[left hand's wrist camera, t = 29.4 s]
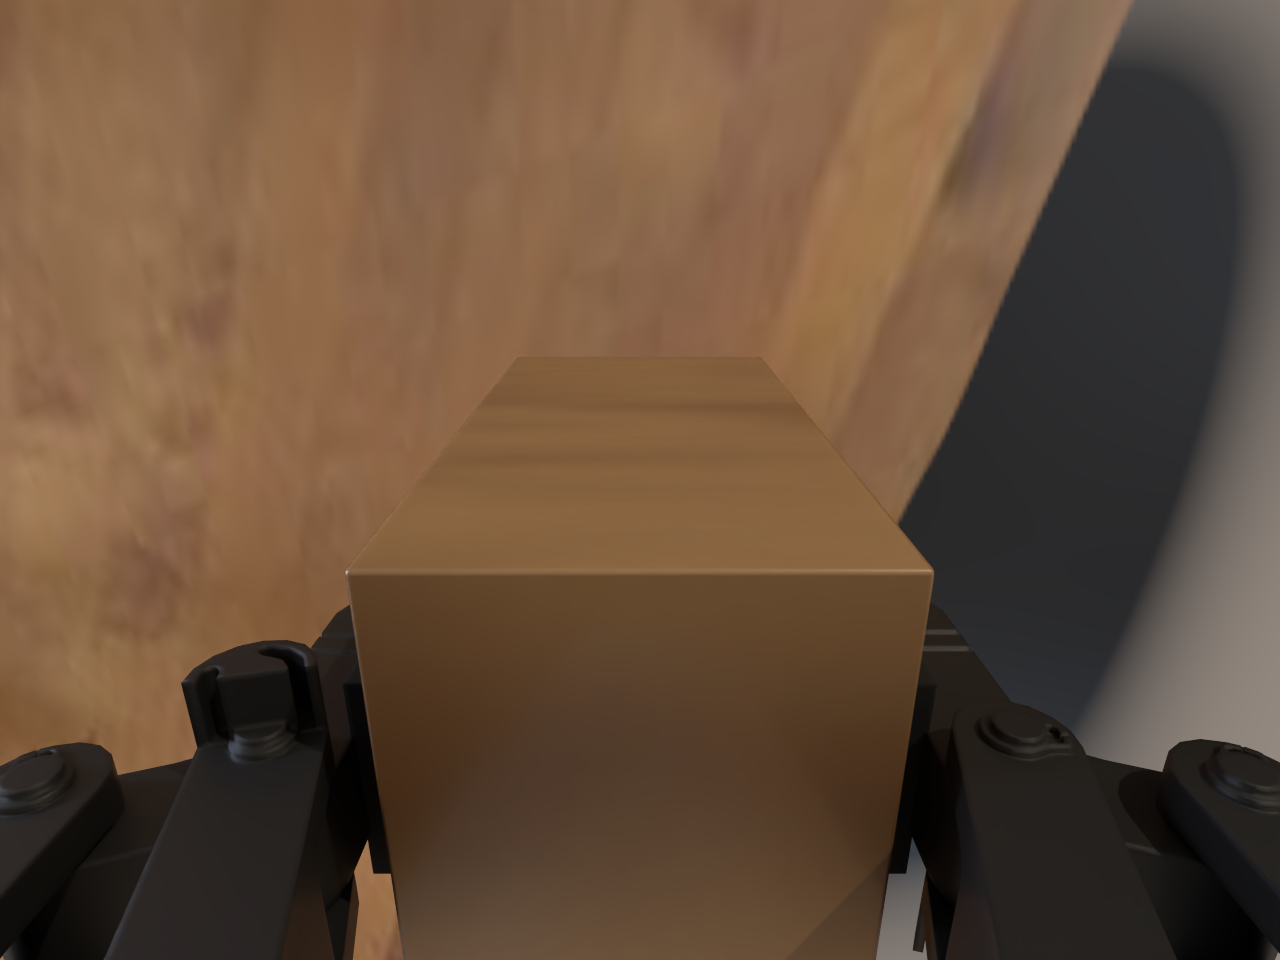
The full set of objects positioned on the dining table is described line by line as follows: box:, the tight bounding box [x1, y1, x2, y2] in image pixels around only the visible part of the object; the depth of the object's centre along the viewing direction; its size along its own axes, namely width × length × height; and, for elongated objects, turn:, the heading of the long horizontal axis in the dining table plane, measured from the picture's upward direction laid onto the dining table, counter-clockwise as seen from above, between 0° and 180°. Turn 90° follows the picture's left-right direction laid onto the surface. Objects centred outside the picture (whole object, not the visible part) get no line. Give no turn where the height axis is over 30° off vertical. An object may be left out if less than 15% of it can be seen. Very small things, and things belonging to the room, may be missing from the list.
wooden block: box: [345, 357, 934, 960], centre depth 12 cm, size 7×5×9 cm
